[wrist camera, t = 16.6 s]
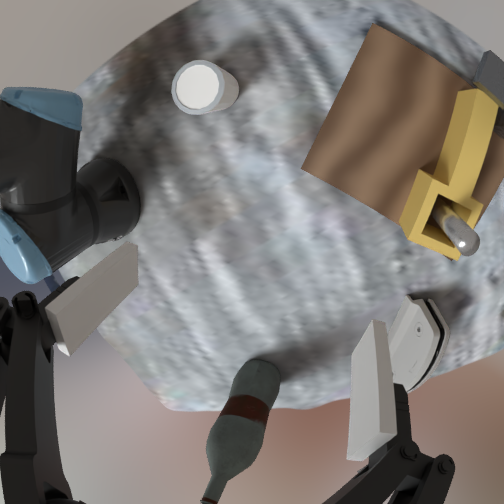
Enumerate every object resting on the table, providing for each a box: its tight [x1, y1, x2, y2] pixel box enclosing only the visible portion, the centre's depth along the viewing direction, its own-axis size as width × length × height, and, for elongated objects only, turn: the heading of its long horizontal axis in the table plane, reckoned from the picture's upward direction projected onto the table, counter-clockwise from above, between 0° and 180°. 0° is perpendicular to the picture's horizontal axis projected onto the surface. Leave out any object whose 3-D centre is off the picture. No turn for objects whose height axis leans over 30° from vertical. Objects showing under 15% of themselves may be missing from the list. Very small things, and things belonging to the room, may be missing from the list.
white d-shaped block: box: [387, 295, 450, 393], centre depth 40 cm, size 17×5×10 cm, turn 174°
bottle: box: [200, 360, 280, 504], centre depth 43 cm, size 9×9×30 cm
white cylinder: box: [171, 60, 239, 115], centre depth 32 cm, size 7×7×7 cm
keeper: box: [472, 50, 504, 139], centre depth 20 cm, size 11×4×13 cm, turn 67°
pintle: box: [430, 196, 480, 256], centre depth 27 cm, size 2×2×14 cm
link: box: [399, 88, 498, 261], centre depth 27 cm, size 20×8×6 cm, turn 167°
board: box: [301, 23, 504, 261], centre depth 30 cm, size 25×22×2 cm
